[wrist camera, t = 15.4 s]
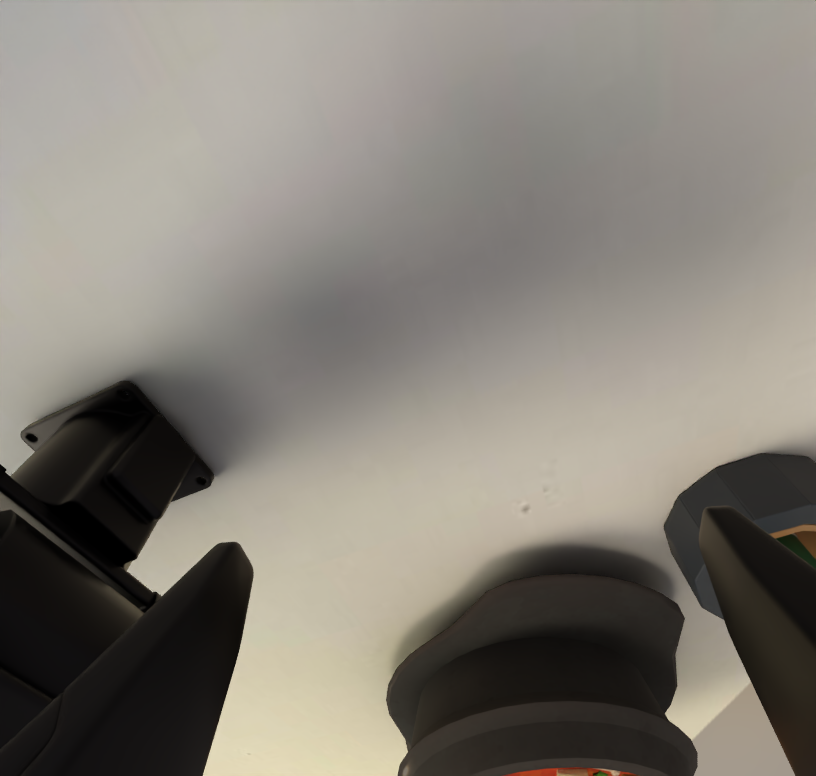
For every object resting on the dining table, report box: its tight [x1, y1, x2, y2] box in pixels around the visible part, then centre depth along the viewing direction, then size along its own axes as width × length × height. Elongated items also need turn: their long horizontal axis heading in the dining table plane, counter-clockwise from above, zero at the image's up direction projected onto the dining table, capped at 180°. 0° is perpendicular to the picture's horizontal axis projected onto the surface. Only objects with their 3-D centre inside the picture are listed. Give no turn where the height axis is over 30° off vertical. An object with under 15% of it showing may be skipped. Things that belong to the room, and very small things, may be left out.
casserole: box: [386, 574, 697, 776], centre depth 31 cm, size 25×19×8 cm
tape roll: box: [664, 454, 816, 619], centre depth 25 cm, size 8×8×4 cm
